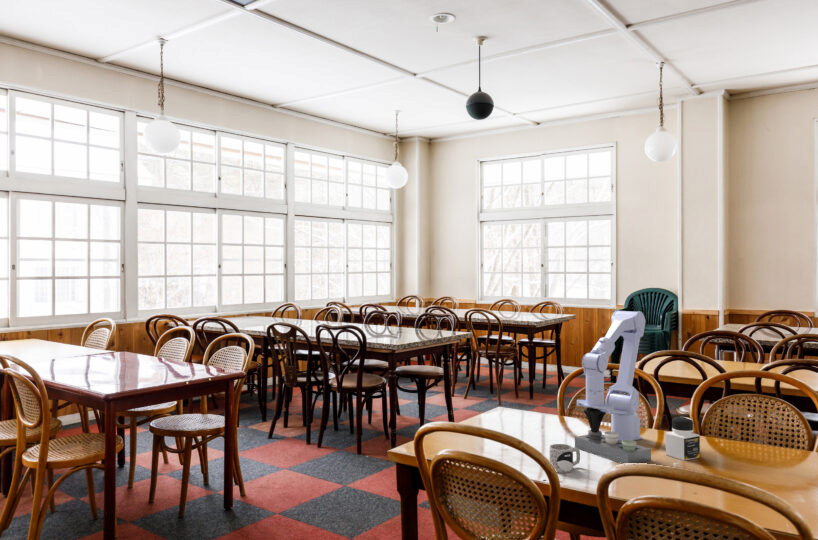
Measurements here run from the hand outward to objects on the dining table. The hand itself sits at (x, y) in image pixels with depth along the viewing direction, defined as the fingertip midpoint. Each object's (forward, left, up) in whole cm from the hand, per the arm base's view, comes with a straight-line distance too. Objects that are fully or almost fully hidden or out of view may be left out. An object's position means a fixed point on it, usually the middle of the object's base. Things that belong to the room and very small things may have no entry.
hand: (594, 431), depth 206 cm
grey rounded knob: (0, 0, -4) cm, 4 cm away
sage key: (0, +14, -4) cm, 15 cm away
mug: (+23, +11, -6) cm, 26 cm away
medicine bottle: (-17, +20, -6) cm, 27 cm away
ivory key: (0, +7, -3) cm, 8 cm away
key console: (0, +7, -5) cm, 9 cm away
